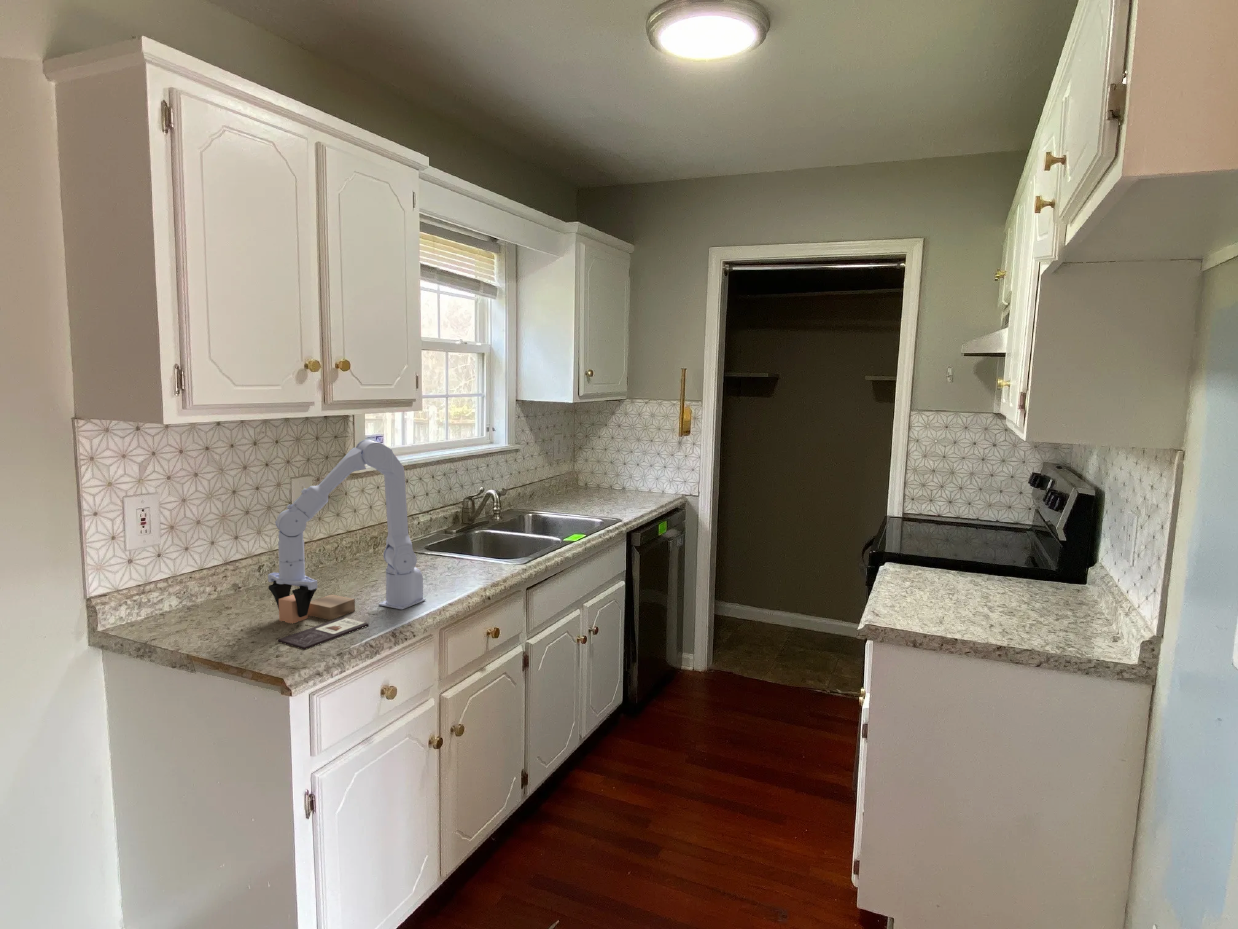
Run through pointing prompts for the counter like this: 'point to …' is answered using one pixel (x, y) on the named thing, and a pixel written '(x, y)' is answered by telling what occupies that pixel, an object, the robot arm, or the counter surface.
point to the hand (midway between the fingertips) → (293, 613)
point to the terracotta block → (289, 610)
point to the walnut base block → (331, 607)
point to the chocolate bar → (322, 633)
